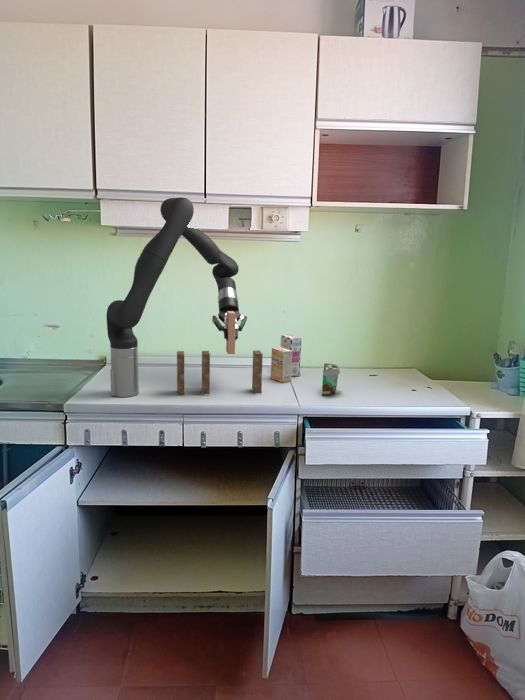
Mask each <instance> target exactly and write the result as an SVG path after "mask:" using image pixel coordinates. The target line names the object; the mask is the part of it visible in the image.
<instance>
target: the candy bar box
mask: <svg viewBox="0 0 525 700" xmlns="http://www.w3.org/2000/svg"><path fill="white" fill-rule="evenodd" d="M280 347H282V348H285V349H288V350H292V351H293V352H292V373H291V378H297V377H298V378H299V377H300V371H301V369H300V368H301V367H300V366H301V351H302V350H301V349H302V338H300V337H297V336H295V335H293V334H281V335H280Z"/></svg>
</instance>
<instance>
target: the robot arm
mask: <svg viewBox="0 0 525 700" xmlns="http://www.w3.org/2000/svg"><path fill="white" fill-rule="evenodd" d="M194 210H195V209H194V205H193V202H192V201H191V199H189V198H187V197H183V196H182V197H169V198H167V199H164V201H162V202H161V205H160V210H159V211H160V215H161V217H162V218H163V220H164V221H165V223H164V224H163V226H162V227H161V229H160V230H159V232H157V233H156V235H154V236H153V237H152V238H151V239H150V240H149V241H148V243H147V244H146V245H145V246H144V247H143V249H142V251H141V253H140V254H139V257H138V258H137V260H136V262H135V266H134V273H133V281H132V284H131V287H130V289H129V291H128V293H127V295H126V297H124V300H122V299H118V300H113V301H112V302H111V303H109V305H108V306H107V310H106V326H107V329H106V330H107V337H108V340H109V346H110V348H109V349H110V370H109V373H110V396H111V397H118V398H129V397H134V396H137V395H138V394H139V392H140V391H139V384H140V383H139V349H138V348H139V346H138V345H139V343H138V339H137V337H136V336H135V334H134V331H133V328H134V327H136V326H137V325H138V324H139V322H140V320H141V319H142V317H143V316H142V315H143V313H144V311H145V308H146V307H147V303H148V300H149V298H150V296H151V293H152V292H153V290H154V288H155V286H156V284H157V282H158V280H159V278H160V276H161V275H162V273H163V271H164V269H165V267H166V266H167V262H168V261H169V258H170V256H171V255H172V253H173V251H174V249H175V247H176V245H177V244H178V241H179V239H180V238H181V236H182V237H183V238H184V239H186V240H187V242H189V243H190V245H192V246H193V248H194V249H195V250H196V251H197V252H198V253H199V255H201V257H202V258H203V260H205V262H206V263H207V264H209V265H211V266H212V265H214V266H213V268H212V270H211V271H212V272H211V273H212V276H213V278H214V280H215V282H216V285H217V291H218V292H217V293H218V296H217V303H218V314H217V315H212V318H211V321H212V323H213V325H214V326H215V327H216V328H217V330H218V331H219V332H222V333H223V338H224V339H225V341H226V340H228V329H227V311H234V312H235V313H236V327H235V341H237V340H238V339H239V332H242V331H243V329H244V327H245V325H246V322H247V320H248V316H247V315H245V316H244V315H241V313H240V308H239V298H238V294H237V288H236V287H237V286H236V281H235V280H234V278H233V277H234V276H236V275H238V273H239V270H240V268H239V265H238V263H237V261H236V260H235V259H234V258H232V257H231V256H229V255H228V254H226V253H224V252H223V251H222V250H221V249H220V248H219V246H218V245H217V244H216V243H215V242H214V240H212V238H211V237H209V236H208V235H207V234H206V233H204V232H203V231H202V230H200V229H199V228H198V229H194V228H188V227H187V225H188V224H189V222H191V221H192V219H193V216H194V213H195V211H194ZM239 320H240V324H239V325H238V322H239ZM221 322H222V323H223V324H222V323H221Z"/></svg>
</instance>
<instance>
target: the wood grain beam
mask: <svg viewBox="0 0 525 700" xmlns="http://www.w3.org/2000/svg"><path fill="white" fill-rule="evenodd" d="M263 355H264V354H263V352H262V351H261V350H258V349H257V350H252V374H251V375H252V378H251V379H252V381H251V382H252V383H251V384H252V385H251V390H252V389H253V390H252V392H253V391H254V392H255V393H261V394H262V392H263V391H262V384H263ZM254 392H253V393H254ZM255 393H254V394H255Z"/></svg>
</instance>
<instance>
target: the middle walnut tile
mask: <svg viewBox="0 0 525 700" xmlns="http://www.w3.org/2000/svg"><path fill="white" fill-rule="evenodd" d="M210 353H211V352H210V351H209V350H201V393H203V394H211V393H210V390H211V389H210V385H211V384H210V383H211V382H210V381H211V380H210V379H211V378H210V377H211V354H210ZM203 394H202V395H203Z"/></svg>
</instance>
